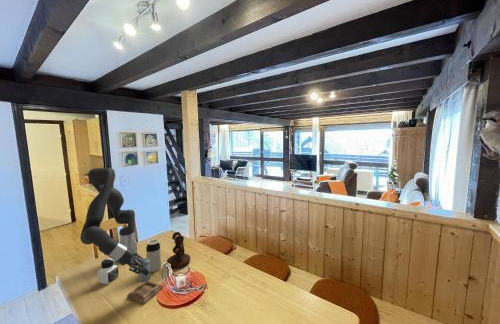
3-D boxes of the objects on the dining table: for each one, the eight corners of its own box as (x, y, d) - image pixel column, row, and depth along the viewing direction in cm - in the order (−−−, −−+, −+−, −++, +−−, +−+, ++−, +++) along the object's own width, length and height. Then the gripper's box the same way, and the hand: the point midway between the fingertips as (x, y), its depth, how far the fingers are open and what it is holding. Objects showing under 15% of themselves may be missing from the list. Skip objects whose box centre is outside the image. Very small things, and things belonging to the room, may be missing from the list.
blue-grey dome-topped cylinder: (145, 274, 113) (144, 257, 113) (153, 277, 111) (152, 259, 111) (136, 281, 108) (135, 262, 107) (144, 283, 106) (143, 265, 105)
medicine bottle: (108, 284, 117) (107, 264, 116) (98, 283, 119) (96, 262, 118) (118, 276, 124) (117, 257, 123) (108, 275, 126) (107, 256, 125)
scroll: (193, 264, 137) (192, 235, 135) (170, 272, 128) (168, 241, 127) (186, 254, 149) (185, 227, 147) (164, 261, 141) (163, 232, 139)
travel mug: (163, 266, 134) (162, 239, 132) (153, 273, 127) (152, 245, 125) (154, 263, 137) (153, 237, 136) (144, 270, 130) (143, 242, 129)
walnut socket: (146, 283, 118) (146, 278, 118) (163, 288, 114) (162, 283, 114) (127, 297, 107) (127, 292, 107) (144, 304, 103) (144, 299, 103)
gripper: (124, 254, 99) (153, 272, 105) (128, 241, 112) (154, 258, 118) (112, 267, 97) (142, 285, 103) (117, 253, 110) (144, 269, 116)
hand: (148, 270), depth 110 cm, fingers closed on blue-grey dome-topped cylinder, 5 cm apart
